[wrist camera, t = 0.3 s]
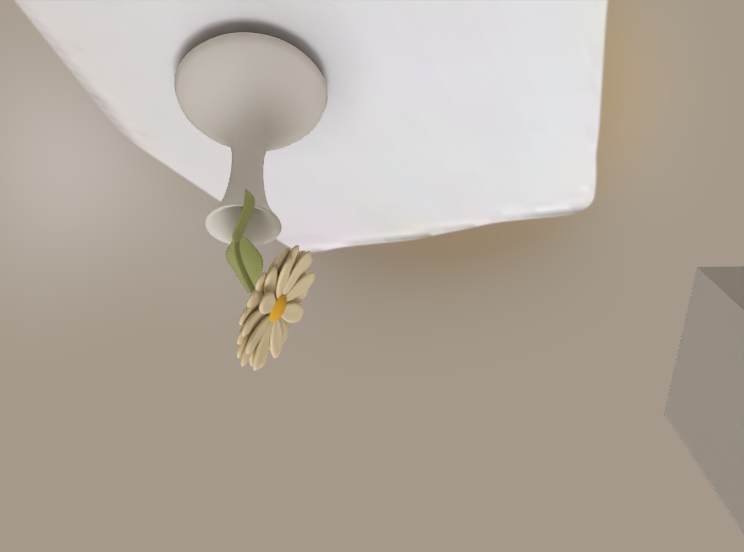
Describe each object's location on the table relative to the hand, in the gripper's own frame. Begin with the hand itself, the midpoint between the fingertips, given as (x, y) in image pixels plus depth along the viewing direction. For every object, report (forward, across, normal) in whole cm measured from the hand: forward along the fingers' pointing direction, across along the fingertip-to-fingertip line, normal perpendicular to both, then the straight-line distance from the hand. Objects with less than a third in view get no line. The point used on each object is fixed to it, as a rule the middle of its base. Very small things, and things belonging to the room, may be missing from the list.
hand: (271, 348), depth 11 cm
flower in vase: (+45, -6, -3) cm, 46 cm away
